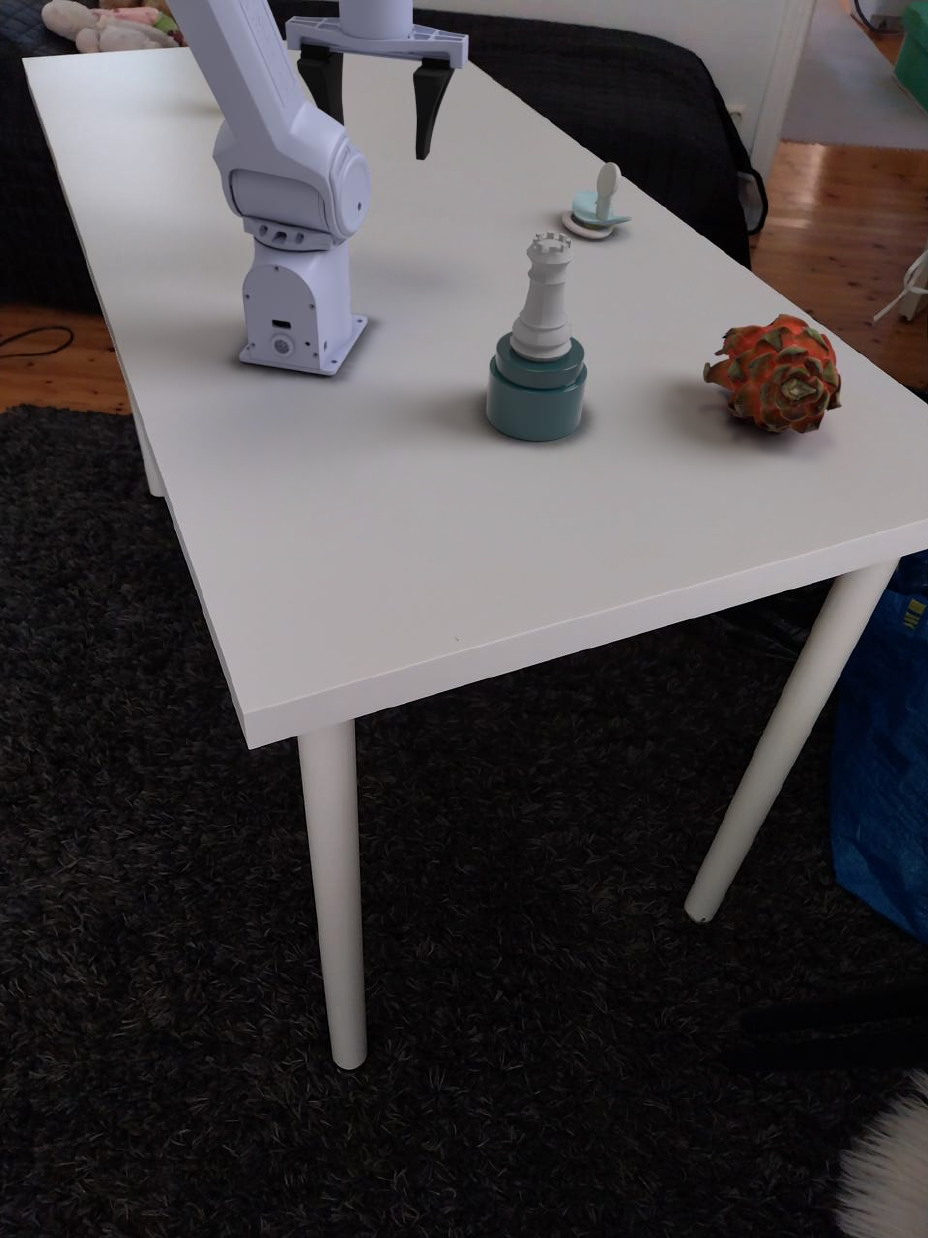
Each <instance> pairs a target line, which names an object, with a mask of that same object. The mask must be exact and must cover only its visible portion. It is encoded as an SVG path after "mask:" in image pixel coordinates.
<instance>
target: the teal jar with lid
mask: <svg viewBox="0 0 928 1238" xmlns="http://www.w3.org/2000/svg"><path fill="white" fill-rule="evenodd" d="M512 335H513V333H512V330H511V331H509V332H507V333H505V334H504V335H503V336H501V337H500V338H499V339H498V341H497V342H496V346H495V353H494V354H493V356H492V357H491V358H490V360H489V365H488V379H487V393H486V407H485V408H486V409H485V414H486V418H487V419H488V422H489V423H490V424H491V425H492V426H493V427H494V428H495V429H496V430H498V431H499V432H501V434H502V433H503V434H504V435H506V436H509V437H512V438H514V439H517V440H523V441H528V442H529V441H530V442H549V441H554V440H558V439H562V438H564V437H567V436H569V435H571V434H572V433H573V432H575V430H576V429H577V428H578V427H579V425H580V422H581V418H582V413H583V412H582V411H583V405H584V398H585V391H586V386H587V379H588V378H587V377H588V368H587V366H586V364H585V362H584V361H585V354H586V353H585V349H584V347H583V345H582V344H581V342H579V340H577V338H574V336H571V338H570V341H571V346H572V347H571V348H570V350H569V351H568V352H567V353H566V354H565V355H564V356H563V357H562V358H560V359H558V360H555V361H549V362H536V361H532V360H528V359H525V358H523V357H521V356H520V355H518V354H517V352H516V351H515V350H514V349H513V347H512V346H511V344H510V337H511V336H512Z"/></svg>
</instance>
